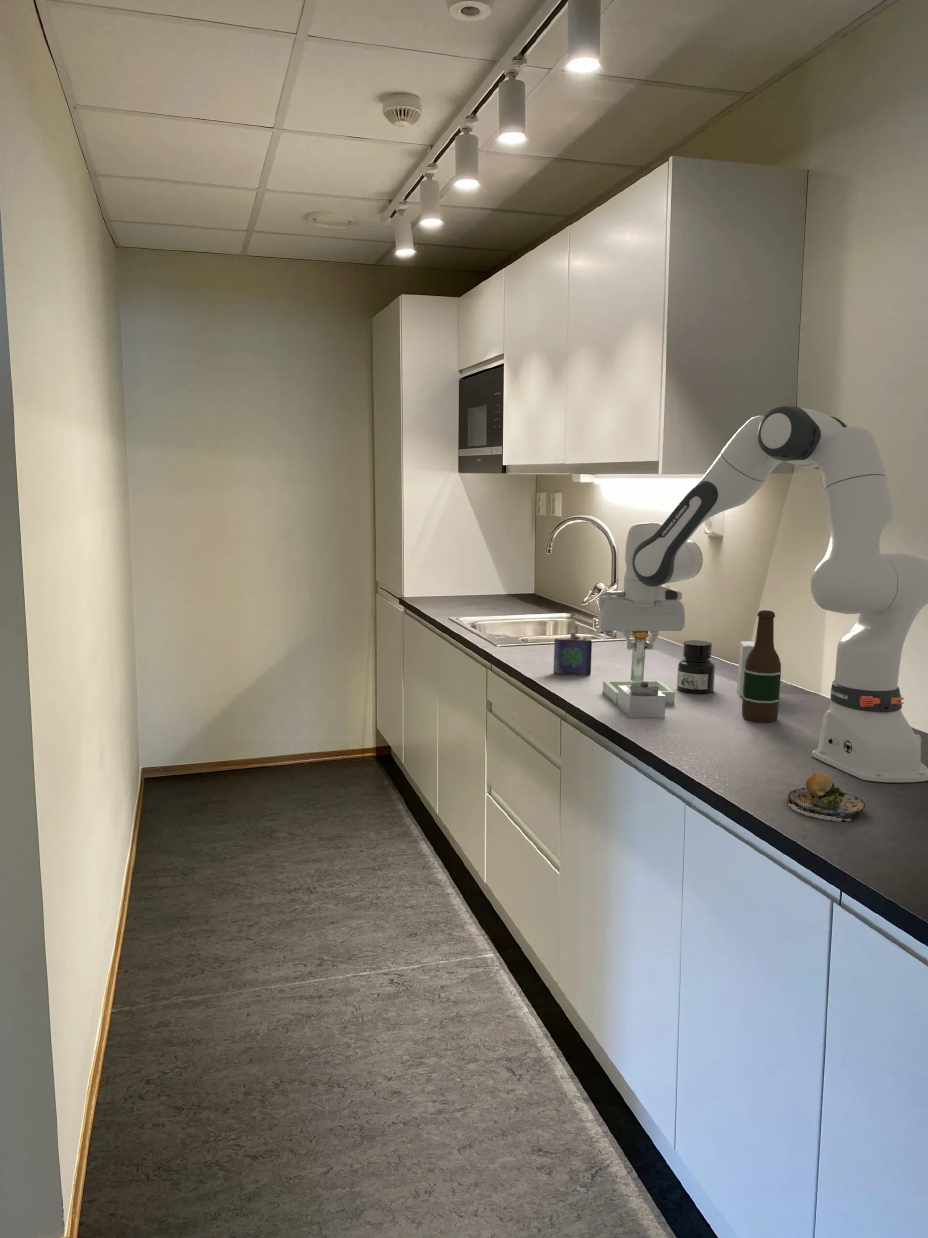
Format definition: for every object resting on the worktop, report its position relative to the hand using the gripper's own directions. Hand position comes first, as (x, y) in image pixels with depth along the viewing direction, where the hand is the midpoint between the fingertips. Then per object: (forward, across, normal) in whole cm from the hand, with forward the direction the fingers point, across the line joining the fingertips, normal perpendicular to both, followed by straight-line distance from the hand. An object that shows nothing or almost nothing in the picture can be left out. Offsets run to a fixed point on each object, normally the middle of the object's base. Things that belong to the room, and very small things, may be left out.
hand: (639, 649), depth 220 cm
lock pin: (+8, 0, +1) cm, 8 cm away
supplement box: (+12, +30, +3) cm, 33 cm away
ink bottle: (+12, +17, +8) cm, 22 cm away
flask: (+12, -10, +27) cm, 31 cm away
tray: (+12, 0, 0) cm, 12 cm away
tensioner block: (+12, -3, -13) cm, 18 cm away
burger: (+12, +10, -73) cm, 75 cm away
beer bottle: (+12, +22, -19) cm, 32 cm away
